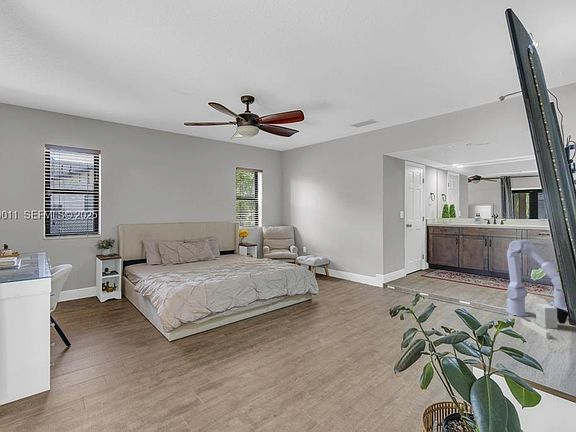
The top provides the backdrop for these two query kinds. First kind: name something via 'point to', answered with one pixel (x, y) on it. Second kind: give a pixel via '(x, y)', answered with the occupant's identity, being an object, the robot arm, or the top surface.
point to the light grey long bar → (535, 327)
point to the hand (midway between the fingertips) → (561, 323)
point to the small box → (546, 315)
